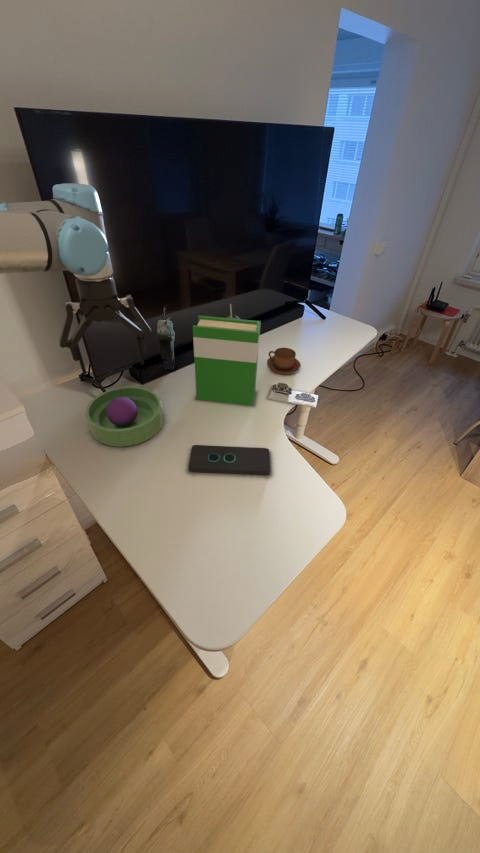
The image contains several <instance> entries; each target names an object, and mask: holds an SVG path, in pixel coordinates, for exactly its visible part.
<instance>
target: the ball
mask: <svg viewBox="0 0 480 853" xmlns="http://www.w3.org/2000/svg"><path fill="white" fill-rule="evenodd" d="M106 413H107V417H108V419H109V420H110V421H111V422H112V423H113V424H114V425H117V426H127V425H130V424H131V423H133V422H134V420H135V419H136V417H137V407H136V405H135V403H134V402H133V401H132V400H130V399H128V398H125V397H118V398H115V399H113V400H112V401H111V402H110V403H109V404H108V406H107V410H106Z"/></svg>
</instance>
